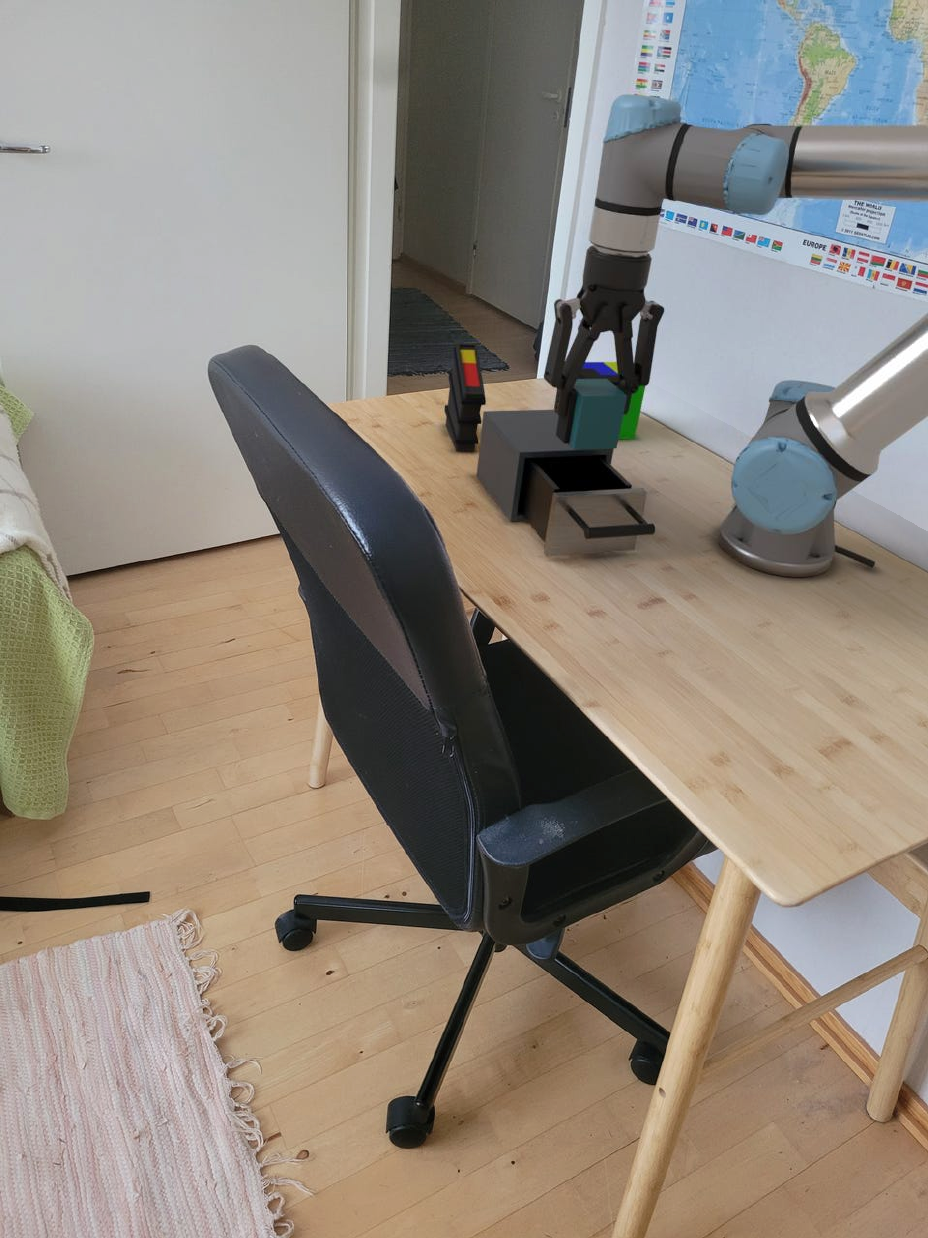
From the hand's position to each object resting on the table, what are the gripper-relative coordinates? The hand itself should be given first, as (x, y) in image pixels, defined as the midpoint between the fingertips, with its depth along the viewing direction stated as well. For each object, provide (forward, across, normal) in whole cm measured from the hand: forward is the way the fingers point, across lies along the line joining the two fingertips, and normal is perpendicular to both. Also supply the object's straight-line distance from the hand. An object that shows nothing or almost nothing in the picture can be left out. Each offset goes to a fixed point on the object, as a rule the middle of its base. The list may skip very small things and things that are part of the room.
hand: (586, 438), depth 121 cm
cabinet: (+14, 0, -12) cm, 19 cm away
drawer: (+13, 0, +3) cm, 14 cm away
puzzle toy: (+14, -21, -37) cm, 45 cm away
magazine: (+14, +5, -33) cm, 36 cm away
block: (0, 0, 0) cm, 0 cm away
